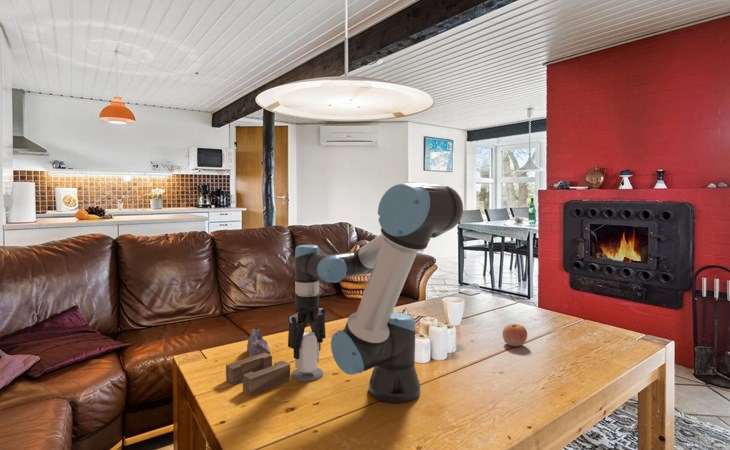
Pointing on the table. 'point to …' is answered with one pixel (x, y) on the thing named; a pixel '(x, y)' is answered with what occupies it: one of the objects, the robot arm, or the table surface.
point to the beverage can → (309, 352)
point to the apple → (514, 334)
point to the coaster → (307, 375)
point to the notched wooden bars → (257, 373)
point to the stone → (257, 343)
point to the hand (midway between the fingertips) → (307, 364)
